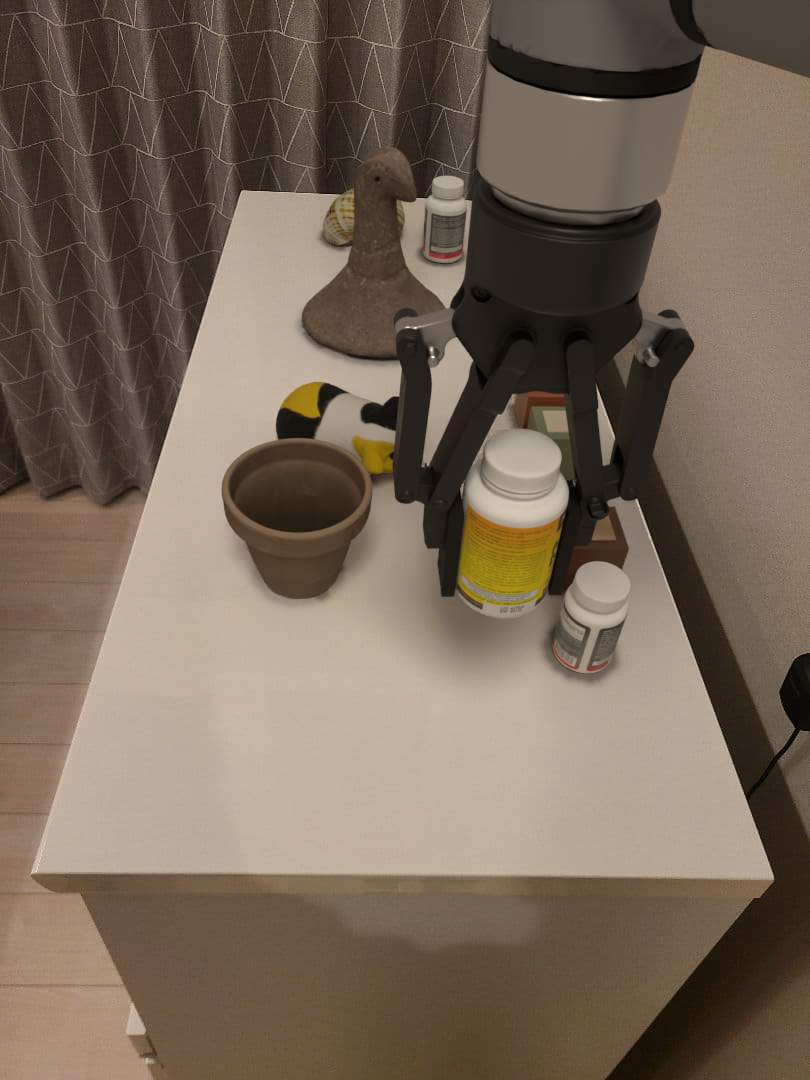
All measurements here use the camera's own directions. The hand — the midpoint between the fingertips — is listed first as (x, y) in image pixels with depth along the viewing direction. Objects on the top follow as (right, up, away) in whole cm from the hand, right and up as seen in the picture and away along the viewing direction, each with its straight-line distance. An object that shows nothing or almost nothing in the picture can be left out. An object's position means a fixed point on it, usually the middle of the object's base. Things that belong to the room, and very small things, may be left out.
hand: (498, 578), depth 49 cm
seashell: (-11, +44, +65) cm, 79 cm away
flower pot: (-14, -1, +21) cm, 26 cm away
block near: (+10, 0, +23) cm, 25 cm away
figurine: (-11, +10, +32) cm, 35 cm away
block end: (+9, +15, +37) cm, 41 cm away
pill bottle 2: (+8, -7, +17) cm, 20 cm away
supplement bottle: (0, -1, 0) cm, 1 cm away
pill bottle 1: (-1, +40, +62) cm, 74 cm away
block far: (+9, +10, +33) cm, 35 cm away
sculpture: (-9, +28, +50) cm, 58 cm away
